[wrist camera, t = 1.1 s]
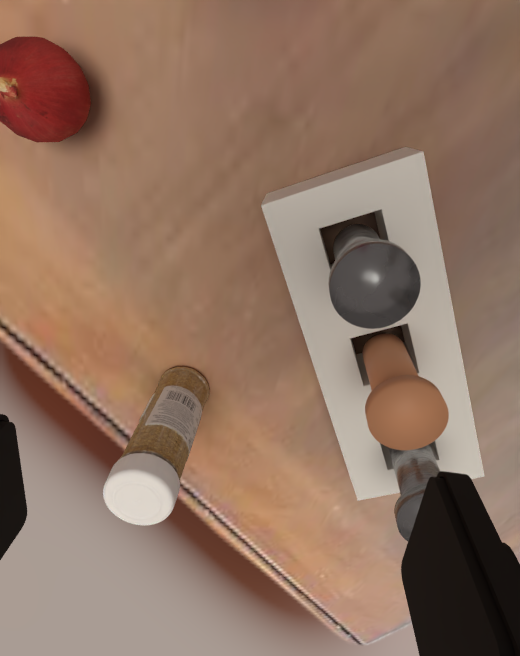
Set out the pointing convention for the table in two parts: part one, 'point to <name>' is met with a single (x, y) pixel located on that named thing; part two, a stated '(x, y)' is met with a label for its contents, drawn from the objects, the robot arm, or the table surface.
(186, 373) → the sprinkles bottle
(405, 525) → the grey plug
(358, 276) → the grey plug
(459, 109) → the table surface
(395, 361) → the rust plug
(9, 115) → the onion
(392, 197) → the block
